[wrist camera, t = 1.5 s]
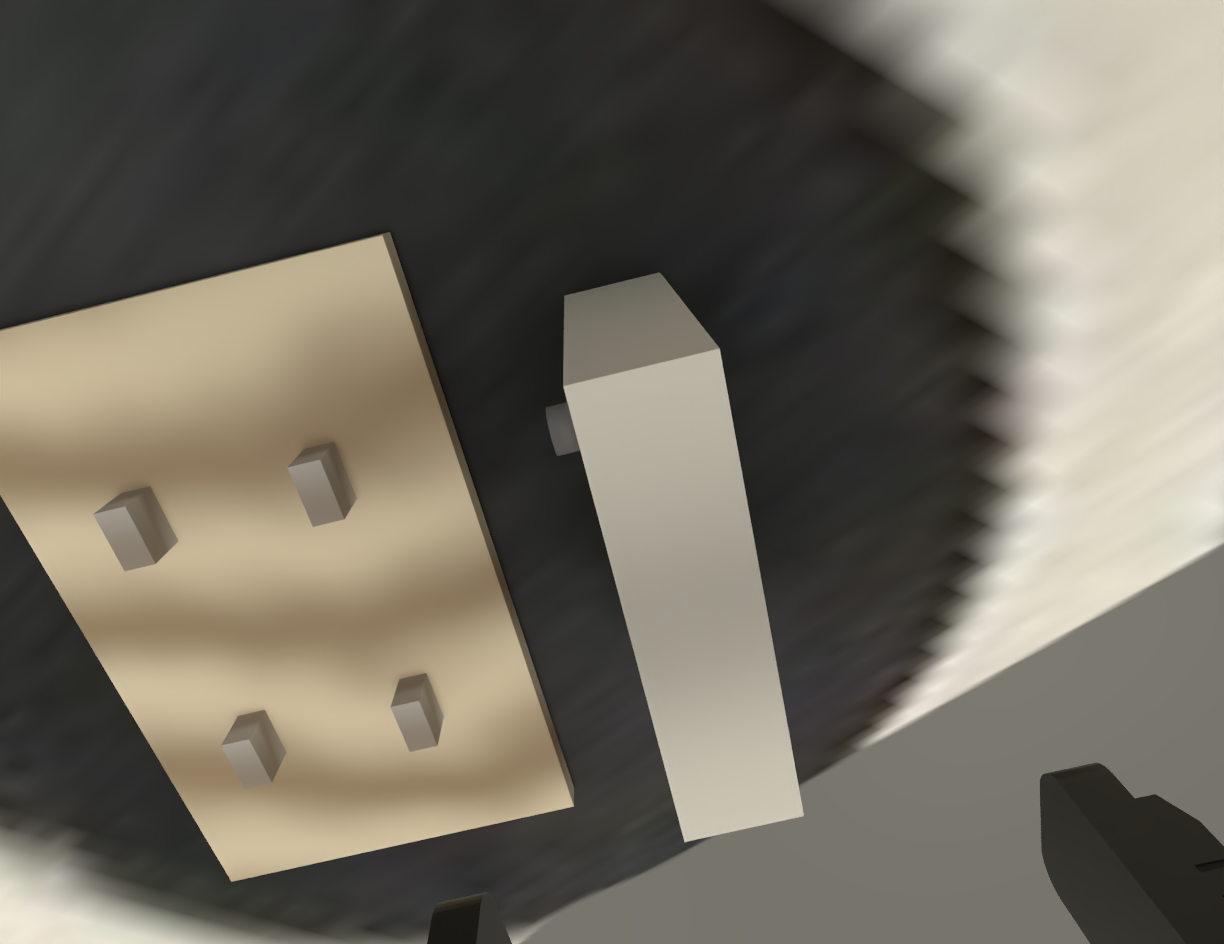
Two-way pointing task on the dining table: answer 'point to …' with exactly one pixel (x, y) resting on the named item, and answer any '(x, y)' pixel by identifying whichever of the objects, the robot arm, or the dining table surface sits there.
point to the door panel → (679, 548)
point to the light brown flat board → (281, 557)
